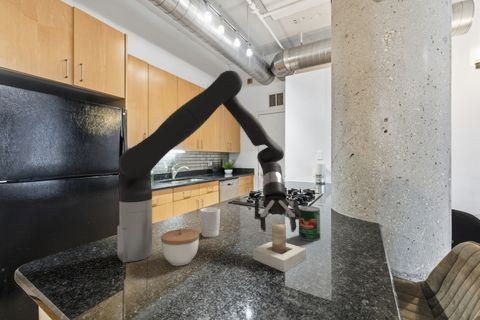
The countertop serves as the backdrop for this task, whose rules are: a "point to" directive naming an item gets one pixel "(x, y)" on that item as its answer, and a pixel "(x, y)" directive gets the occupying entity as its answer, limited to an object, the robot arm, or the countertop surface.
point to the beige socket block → (279, 256)
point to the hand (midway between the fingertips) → (278, 230)
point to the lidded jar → (180, 246)
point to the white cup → (210, 221)
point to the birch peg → (279, 238)
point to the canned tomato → (309, 223)
